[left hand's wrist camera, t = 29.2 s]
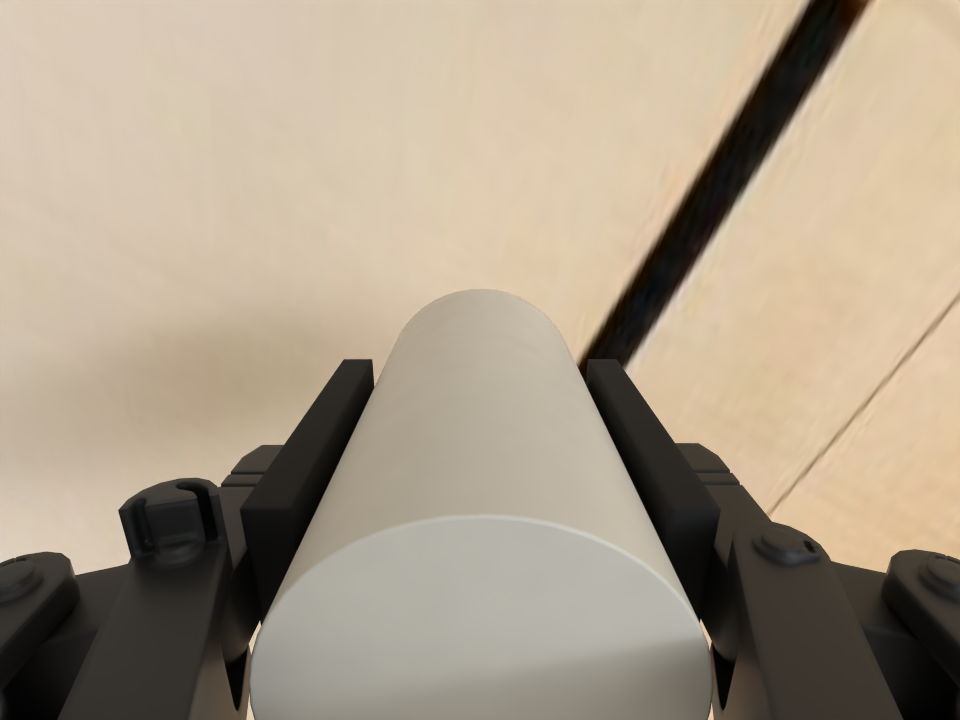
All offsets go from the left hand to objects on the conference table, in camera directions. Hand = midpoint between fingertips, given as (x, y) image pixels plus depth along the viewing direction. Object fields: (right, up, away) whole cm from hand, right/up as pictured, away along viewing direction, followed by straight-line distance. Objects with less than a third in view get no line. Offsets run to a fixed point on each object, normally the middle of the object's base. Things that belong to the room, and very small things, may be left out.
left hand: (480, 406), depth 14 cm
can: (0, +1, +2) cm, 2 cm away
